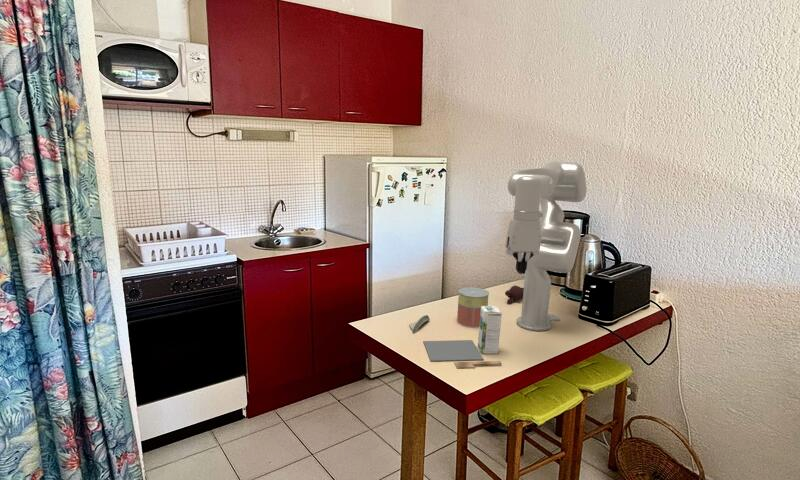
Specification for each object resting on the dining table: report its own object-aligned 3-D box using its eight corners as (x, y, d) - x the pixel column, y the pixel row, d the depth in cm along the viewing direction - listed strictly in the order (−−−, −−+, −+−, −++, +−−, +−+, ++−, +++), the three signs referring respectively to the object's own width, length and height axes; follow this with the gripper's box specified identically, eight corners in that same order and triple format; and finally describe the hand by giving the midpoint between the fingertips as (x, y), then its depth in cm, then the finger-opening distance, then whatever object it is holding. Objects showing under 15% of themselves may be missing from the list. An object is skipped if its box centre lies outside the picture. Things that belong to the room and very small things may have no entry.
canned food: (475, 314, 181) (477, 285, 178) (492, 324, 171) (495, 294, 169) (451, 318, 176) (452, 289, 173) (467, 329, 166) (470, 298, 164)
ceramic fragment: (414, 334, 161) (415, 324, 160) (401, 331, 164) (402, 321, 163) (431, 322, 173) (431, 312, 173) (418, 319, 176) (419, 310, 175)
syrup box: (477, 346, 153) (479, 305, 150) (494, 346, 153) (497, 305, 150) (481, 354, 147) (484, 312, 144) (499, 353, 148) (502, 312, 145)
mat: (472, 341, 157) (472, 339, 157) (483, 360, 143) (483, 359, 143) (423, 342, 155) (423, 341, 155) (430, 361, 141) (430, 360, 141)
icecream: (517, 280, 205) (497, 290, 195) (531, 280, 200) (512, 290, 190) (520, 295, 206) (500, 305, 196) (534, 296, 200) (515, 306, 190)
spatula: (498, 362, 142) (498, 359, 142) (502, 367, 139) (502, 364, 139) (454, 363, 141) (454, 360, 141) (456, 369, 137) (457, 366, 137)
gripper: (543, 214, 146) (538, 269, 150) (498, 213, 144) (494, 269, 148) (554, 218, 139) (548, 276, 143) (506, 217, 137) (502, 276, 141)
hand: (520, 272), depth 145 cm, fingers closed
